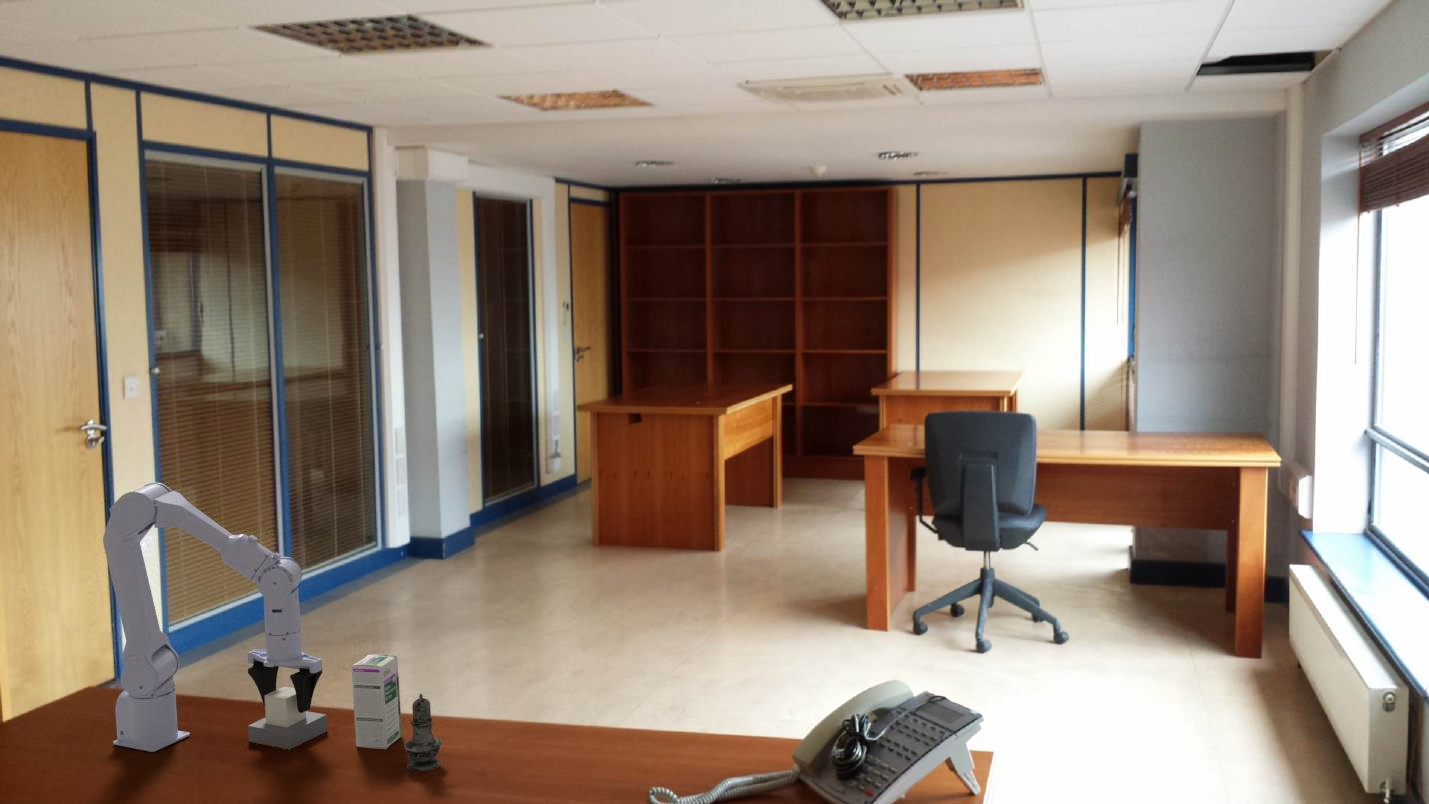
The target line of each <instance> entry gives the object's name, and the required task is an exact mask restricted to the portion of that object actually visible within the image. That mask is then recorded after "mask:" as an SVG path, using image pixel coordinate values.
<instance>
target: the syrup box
mask: <svg viewBox="0 0 1429 804" xmlns="http://www.w3.org/2000/svg"><path fill="white" fill-rule="evenodd" d="M398 660H399V659H398V656H397V655H392V654H384V653H382V654H379V653H377V654H376V653H375V654H367V655H366V656H365V657H364V658H362V659H360V660H358V661H357V662H356V663H354V664H352V665H351V684H352V696H353V697H352V699H353V715H354V728H355V729H354V731H355V746H356V747H358V748H365V749H374V750H375V749H379V750H388V748H389V747H390V746H391V745H393V744H394V743H395V742H397V740H399V739H400V738H401V737H402V736H403V732H402V731H403V730H402V715H401V714H402V713H401V711H402V710H401V696H400V695H401V694H400V692H401V691H400V680H399V679H400V677H399V661H398Z"/></svg>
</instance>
